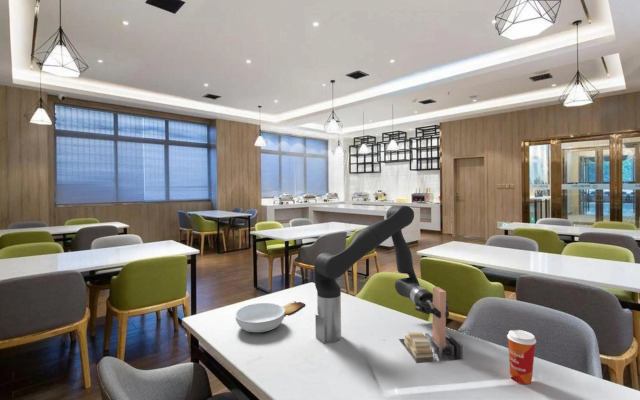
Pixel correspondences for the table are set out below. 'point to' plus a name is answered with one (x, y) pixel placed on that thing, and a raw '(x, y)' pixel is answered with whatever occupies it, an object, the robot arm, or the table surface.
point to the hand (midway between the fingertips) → (443, 315)
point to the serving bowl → (260, 317)
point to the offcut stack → (418, 344)
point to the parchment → (292, 307)
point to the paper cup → (521, 355)
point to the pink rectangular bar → (439, 323)
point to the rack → (440, 350)
